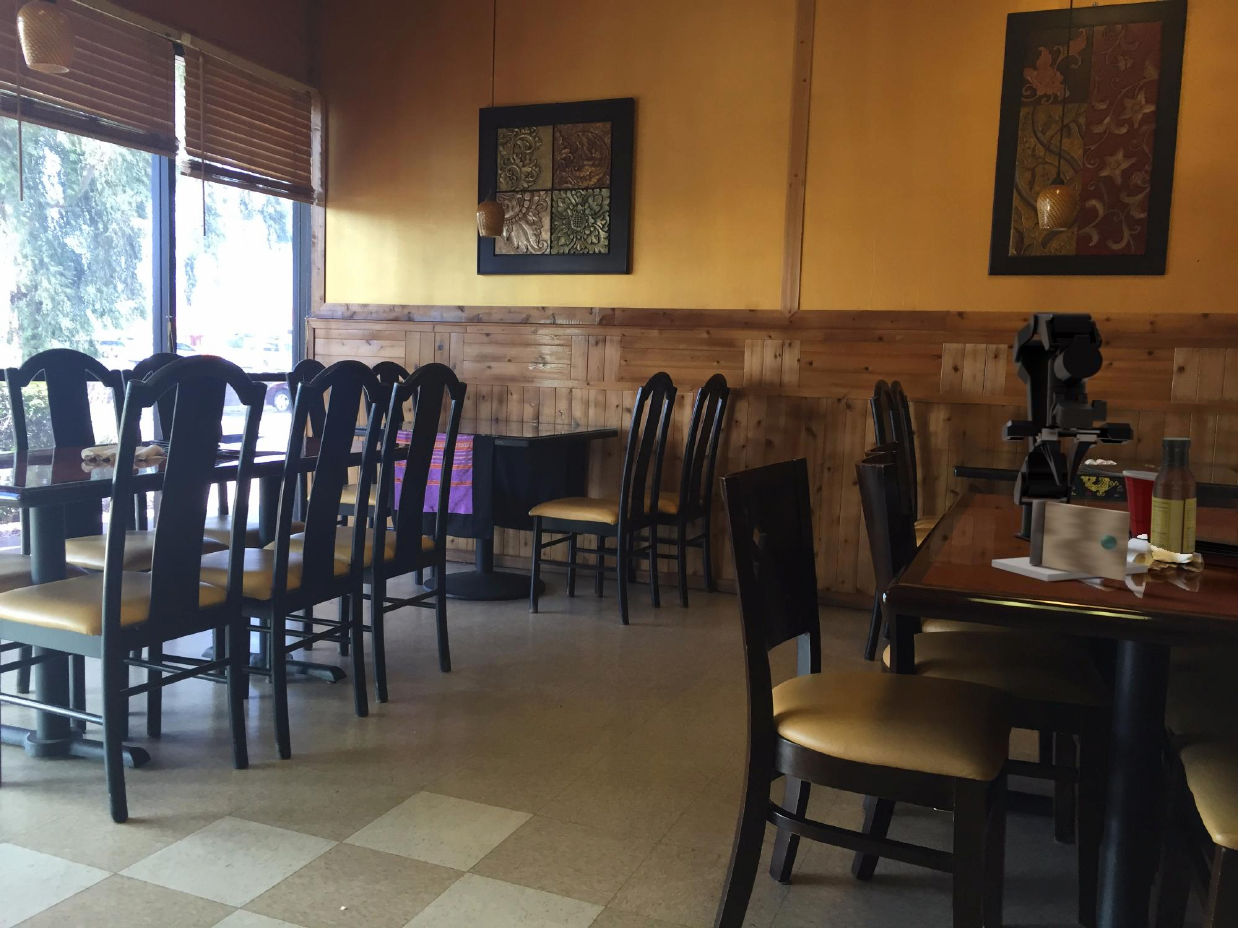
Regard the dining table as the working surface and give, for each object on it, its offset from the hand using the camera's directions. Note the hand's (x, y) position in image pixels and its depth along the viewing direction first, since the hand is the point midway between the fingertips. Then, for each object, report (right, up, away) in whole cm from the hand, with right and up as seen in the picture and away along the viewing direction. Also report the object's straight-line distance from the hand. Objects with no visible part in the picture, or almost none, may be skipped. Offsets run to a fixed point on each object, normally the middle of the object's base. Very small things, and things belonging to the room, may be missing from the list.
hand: (1064, 485), depth 158 cm
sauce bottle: (+17, -12, +1) cm, 21 cm away
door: (-6, -12, -15) cm, 20 cm away
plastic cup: (+26, -10, +22) cm, 35 cm away
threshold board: (-3, -13, -7) cm, 15 cm away
